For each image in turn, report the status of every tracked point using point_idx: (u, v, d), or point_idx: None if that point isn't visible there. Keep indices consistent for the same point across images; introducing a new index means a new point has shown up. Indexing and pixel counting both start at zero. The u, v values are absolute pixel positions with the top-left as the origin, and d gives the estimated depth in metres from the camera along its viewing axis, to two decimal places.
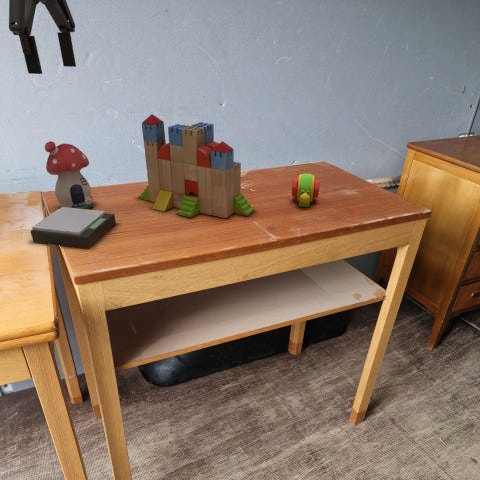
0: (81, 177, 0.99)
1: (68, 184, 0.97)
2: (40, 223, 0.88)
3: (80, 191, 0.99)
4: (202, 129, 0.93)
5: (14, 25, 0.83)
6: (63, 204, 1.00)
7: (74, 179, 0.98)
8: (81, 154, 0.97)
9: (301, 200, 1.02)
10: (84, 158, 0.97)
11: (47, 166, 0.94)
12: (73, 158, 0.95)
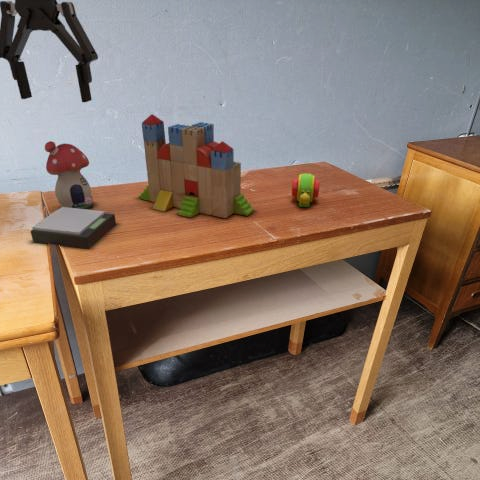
0: (81, 177, 0.99)
1: (68, 184, 0.97)
2: (40, 223, 0.88)
3: (80, 191, 0.99)
4: (202, 129, 0.93)
5: (93, 54, 0.85)
6: (63, 204, 1.00)
7: (74, 179, 0.98)
8: (81, 154, 0.97)
9: (301, 200, 1.02)
10: (84, 158, 0.97)
11: (47, 166, 0.94)
12: (73, 158, 0.95)
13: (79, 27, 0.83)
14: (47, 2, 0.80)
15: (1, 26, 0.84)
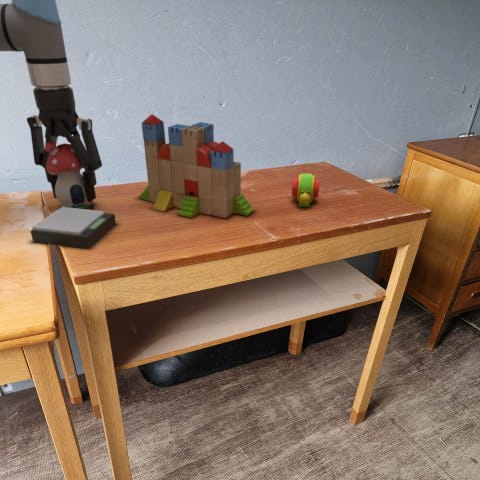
0: (81, 177, 0.99)
1: (68, 184, 0.97)
2: (40, 223, 0.88)
3: (80, 191, 0.99)
4: (202, 129, 0.93)
5: (98, 164, 0.96)
6: (63, 204, 1.00)
7: (74, 179, 0.98)
8: None
9: (301, 200, 1.02)
10: None
11: (47, 166, 0.94)
12: (73, 158, 0.95)
13: (92, 142, 0.93)
14: (68, 115, 0.90)
15: (32, 138, 0.94)
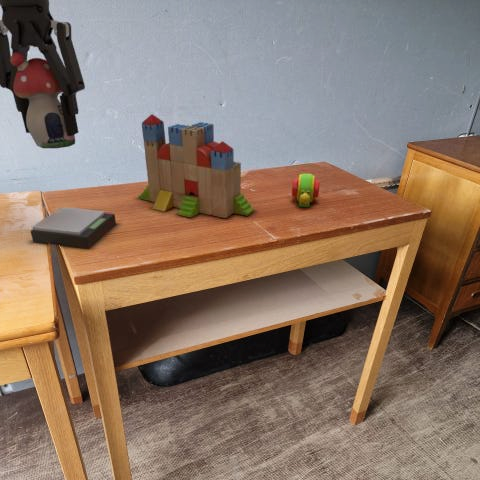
0: (59, 104, 0.79)
1: (42, 112, 0.77)
2: (40, 223, 0.88)
3: (58, 121, 0.79)
4: (202, 129, 0.93)
5: (80, 85, 0.76)
6: (36, 139, 0.80)
7: (50, 105, 0.78)
8: None
9: (301, 200, 1.02)
10: None
11: (14, 86, 0.74)
12: (48, 76, 0.75)
13: (71, 53, 0.73)
14: (40, 15, 0.70)
15: None
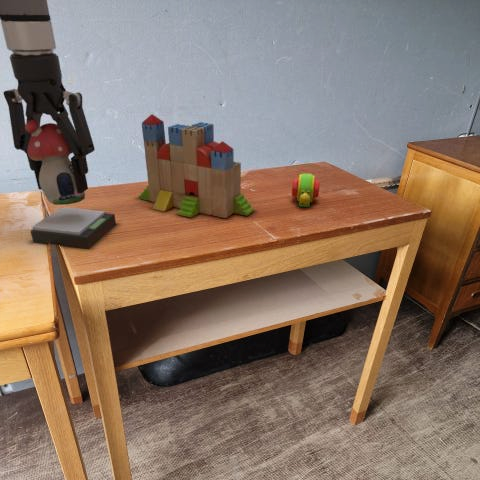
0: (70, 164, 0.84)
1: (54, 172, 0.82)
2: (40, 223, 0.88)
3: (69, 180, 0.84)
4: (202, 129, 0.93)
5: (90, 148, 0.80)
6: (48, 196, 0.84)
7: (61, 166, 0.82)
8: None
9: (301, 200, 1.02)
10: None
11: (28, 150, 0.79)
12: (60, 140, 0.79)
13: (82, 120, 0.78)
14: (53, 87, 0.74)
15: (11, 117, 0.79)
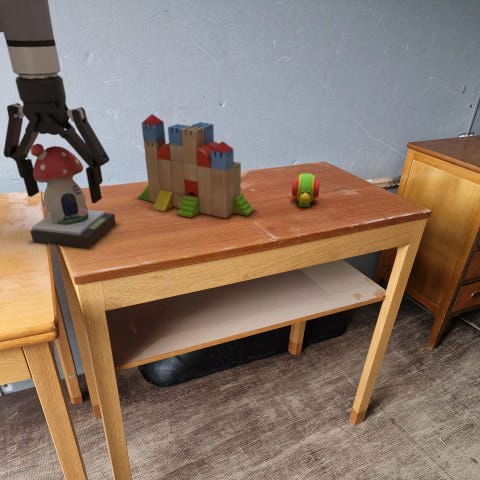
0: (74, 185, 0.86)
1: (59, 193, 0.84)
2: (40, 223, 0.88)
3: (73, 200, 0.86)
4: (202, 129, 0.93)
5: (104, 158, 0.81)
6: (53, 216, 0.87)
7: (66, 187, 0.85)
8: (74, 158, 0.83)
9: (301, 200, 1.02)
10: (77, 163, 0.84)
11: (34, 172, 0.81)
12: (65, 163, 0.82)
13: (90, 133, 0.79)
14: (57, 109, 0.76)
15: (8, 128, 0.80)
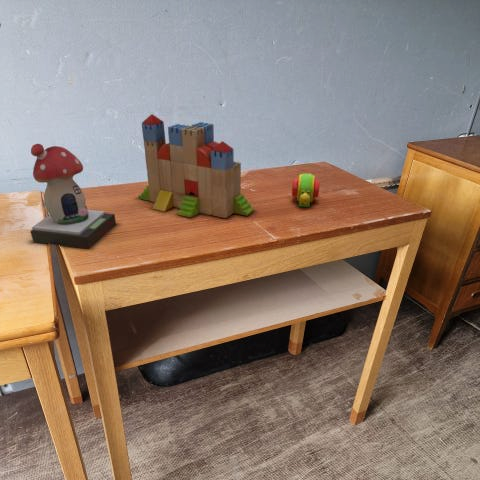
0: (74, 185, 0.86)
1: (59, 193, 0.84)
2: (40, 223, 0.88)
3: (73, 200, 0.86)
4: (202, 129, 0.93)
5: None
6: (53, 216, 0.87)
7: (66, 187, 0.85)
8: (74, 158, 0.83)
9: (301, 200, 1.02)
10: (77, 163, 0.84)
11: (34, 172, 0.81)
12: (65, 163, 0.82)
13: None
14: None
15: None
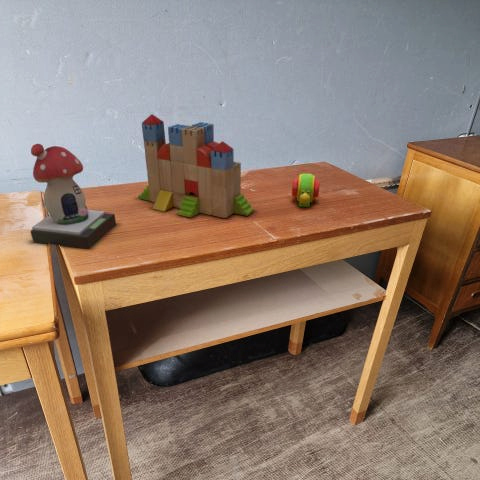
0: (74, 185, 0.86)
1: (59, 193, 0.84)
2: (40, 223, 0.88)
3: (73, 200, 0.86)
4: (202, 129, 0.93)
5: None
6: (53, 216, 0.87)
7: (66, 187, 0.85)
8: (74, 158, 0.83)
9: (301, 200, 1.02)
10: (77, 163, 0.84)
11: (34, 172, 0.81)
12: (65, 163, 0.82)
13: None
14: None
15: None
